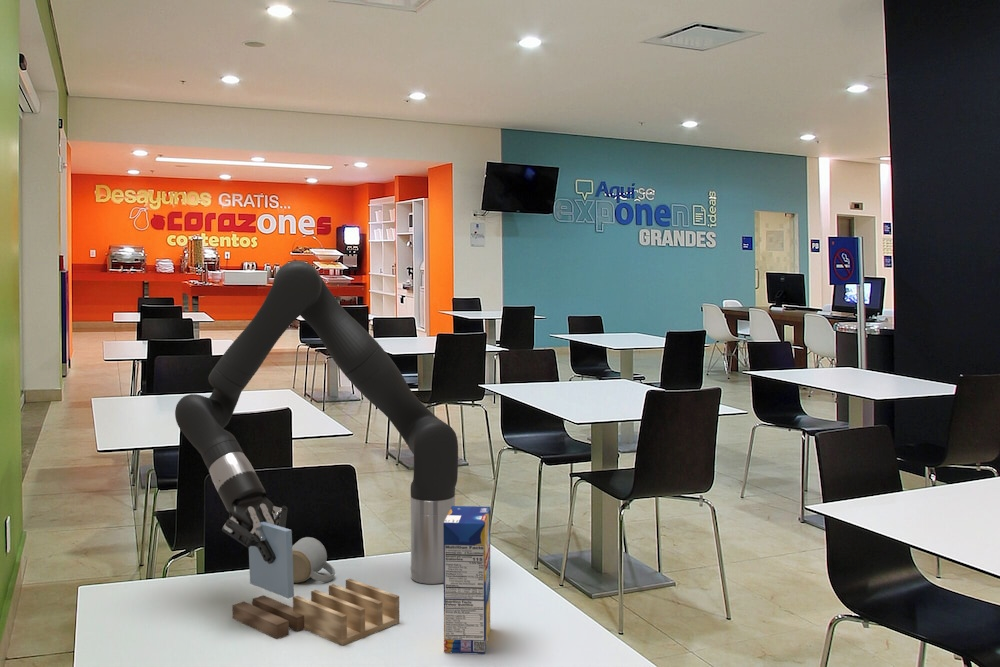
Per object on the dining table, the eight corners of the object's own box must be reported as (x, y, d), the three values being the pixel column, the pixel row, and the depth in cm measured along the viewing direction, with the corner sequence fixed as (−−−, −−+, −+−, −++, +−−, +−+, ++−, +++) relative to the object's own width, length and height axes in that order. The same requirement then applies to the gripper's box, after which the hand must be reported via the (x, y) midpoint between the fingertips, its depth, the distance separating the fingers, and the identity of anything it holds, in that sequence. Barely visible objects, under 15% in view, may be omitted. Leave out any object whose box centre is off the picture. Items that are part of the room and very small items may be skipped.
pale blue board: (250, 583, 160) (247, 519, 159) (255, 581, 161) (253, 518, 160) (288, 598, 152) (285, 531, 151) (294, 596, 153) (291, 529, 152)
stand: (232, 618, 159) (232, 605, 158) (263, 608, 163) (263, 595, 163) (277, 639, 149) (276, 624, 149) (308, 627, 154) (308, 613, 154)
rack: (293, 624, 156) (292, 597, 155) (350, 604, 166) (349, 578, 165) (342, 645, 147) (342, 616, 146) (399, 623, 156) (399, 595, 156)
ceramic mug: (277, 583, 177) (277, 546, 176) (294, 570, 185) (294, 535, 184) (325, 588, 175) (326, 550, 174) (340, 574, 183) (341, 538, 182)
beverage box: (443, 653, 144) (443, 522, 142) (452, 626, 155) (451, 505, 153) (484, 654, 143) (484, 523, 142) (490, 628, 154) (490, 506, 153)
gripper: (210, 477, 155) (251, 558, 147) (275, 463, 165) (316, 539, 158) (196, 501, 159) (235, 581, 151) (260, 487, 169) (300, 561, 162)
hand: (276, 559), depth 155 cm, fingers closed on pale blue board, 1 cm apart
